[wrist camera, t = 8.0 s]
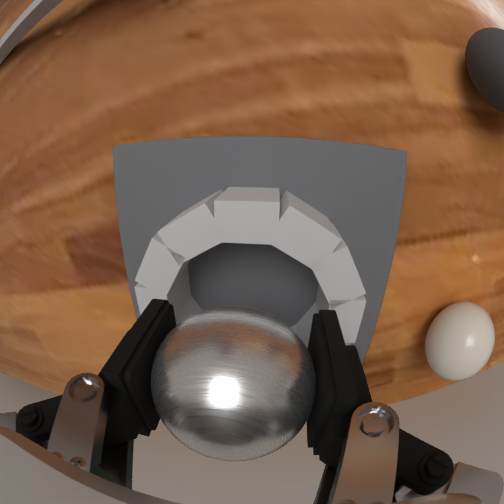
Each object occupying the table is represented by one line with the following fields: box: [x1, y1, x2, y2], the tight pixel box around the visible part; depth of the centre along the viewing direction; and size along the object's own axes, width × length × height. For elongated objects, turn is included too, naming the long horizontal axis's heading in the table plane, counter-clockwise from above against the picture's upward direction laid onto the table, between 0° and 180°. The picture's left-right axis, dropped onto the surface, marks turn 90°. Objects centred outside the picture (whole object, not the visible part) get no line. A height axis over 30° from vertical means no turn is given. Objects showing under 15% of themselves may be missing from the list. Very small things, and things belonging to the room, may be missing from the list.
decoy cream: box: [425, 302, 495, 381], centre depth 12 cm, size 5×5×5 cm
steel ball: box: [151, 305, 316, 461], centre depth 8 cm, size 5×5×5 cm
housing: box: [113, 136, 407, 364], centre depth 13 cm, size 14×14×4 cm
